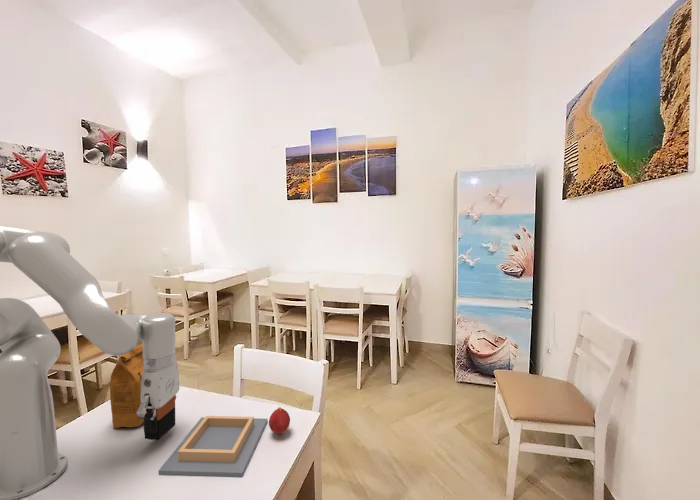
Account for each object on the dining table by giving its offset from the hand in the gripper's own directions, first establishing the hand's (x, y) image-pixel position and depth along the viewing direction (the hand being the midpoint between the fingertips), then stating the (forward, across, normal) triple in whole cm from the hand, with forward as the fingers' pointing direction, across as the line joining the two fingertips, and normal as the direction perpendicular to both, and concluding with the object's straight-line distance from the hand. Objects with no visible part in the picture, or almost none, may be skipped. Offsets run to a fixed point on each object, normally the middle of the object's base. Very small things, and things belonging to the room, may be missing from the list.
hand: (160, 422), depth 85 cm
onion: (+4, +4, -32) cm, 32 cm away
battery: (+3, 0, 0) cm, 3 cm away
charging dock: (+4, -1, -17) cm, 18 cm away
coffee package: (+5, +10, +13) cm, 17 cm away
